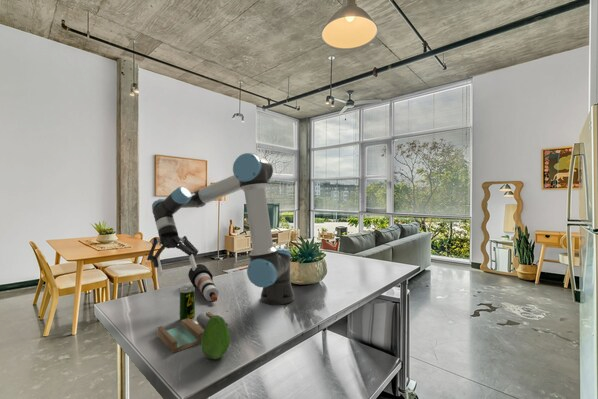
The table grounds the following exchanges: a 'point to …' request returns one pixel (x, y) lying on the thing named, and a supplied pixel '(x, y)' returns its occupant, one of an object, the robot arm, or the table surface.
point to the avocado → (215, 338)
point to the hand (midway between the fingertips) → (178, 271)
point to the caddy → (183, 334)
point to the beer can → (187, 302)
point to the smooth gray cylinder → (202, 319)
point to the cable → (204, 282)
